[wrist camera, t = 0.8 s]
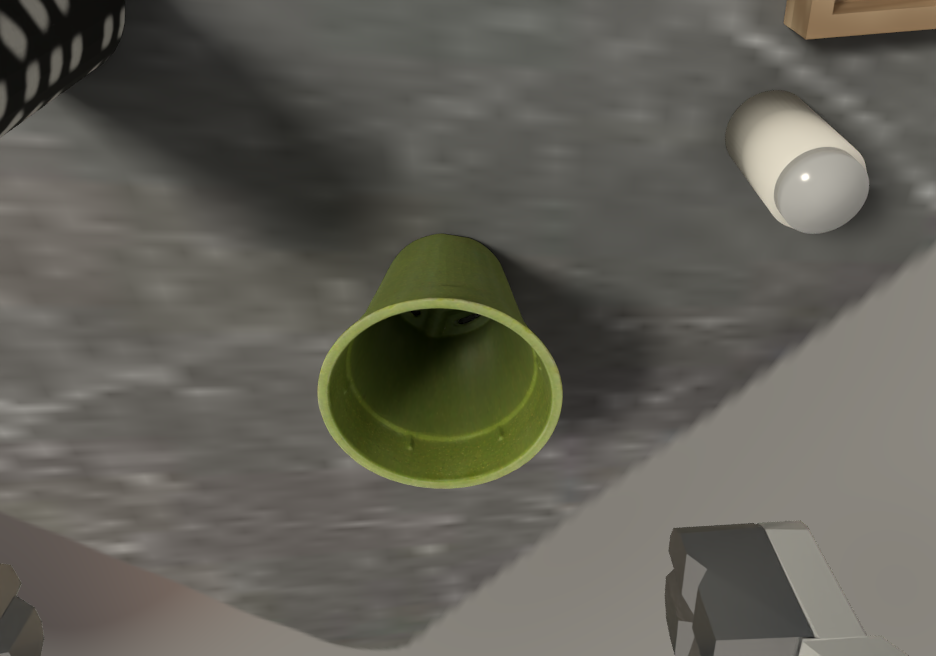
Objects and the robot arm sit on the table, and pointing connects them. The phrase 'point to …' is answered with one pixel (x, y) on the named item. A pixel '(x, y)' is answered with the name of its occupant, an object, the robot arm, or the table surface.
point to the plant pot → (441, 373)
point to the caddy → (858, 17)
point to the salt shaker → (797, 162)
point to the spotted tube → (51, 50)
